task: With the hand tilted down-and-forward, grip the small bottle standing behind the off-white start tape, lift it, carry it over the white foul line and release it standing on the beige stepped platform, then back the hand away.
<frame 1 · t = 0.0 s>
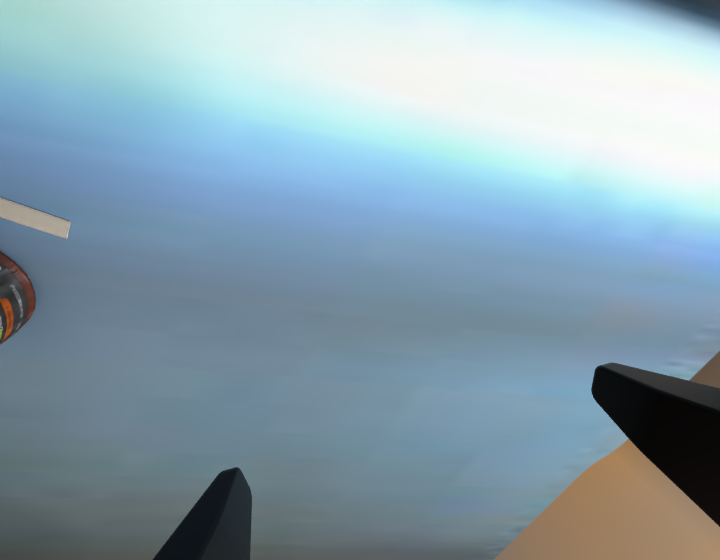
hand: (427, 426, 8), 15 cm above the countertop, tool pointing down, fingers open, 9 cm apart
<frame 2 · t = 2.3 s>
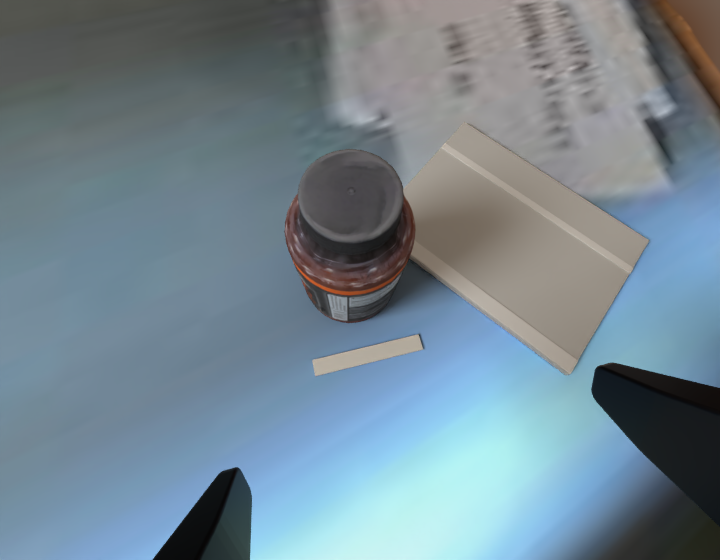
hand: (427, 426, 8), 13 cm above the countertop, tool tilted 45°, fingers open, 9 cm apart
supplement bottle: (350, 283, 24), on the countertop
start tape: (368, 354, 22), on the countertop
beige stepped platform: (508, 235, 25), on the countertop
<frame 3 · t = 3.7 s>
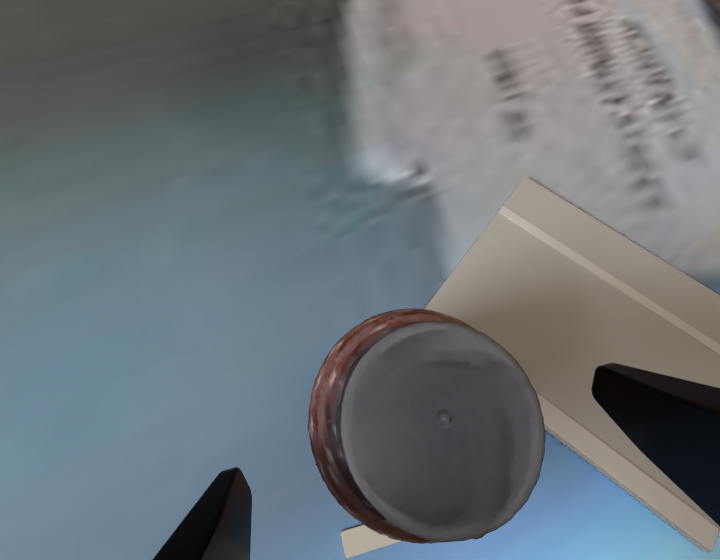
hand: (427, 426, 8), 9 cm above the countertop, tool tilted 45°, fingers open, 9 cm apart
supplement bottle: (387, 406, 17), on the countertop
start tape: (418, 521, 16), on the countertop
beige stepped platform: (596, 333, 19), on the countertop
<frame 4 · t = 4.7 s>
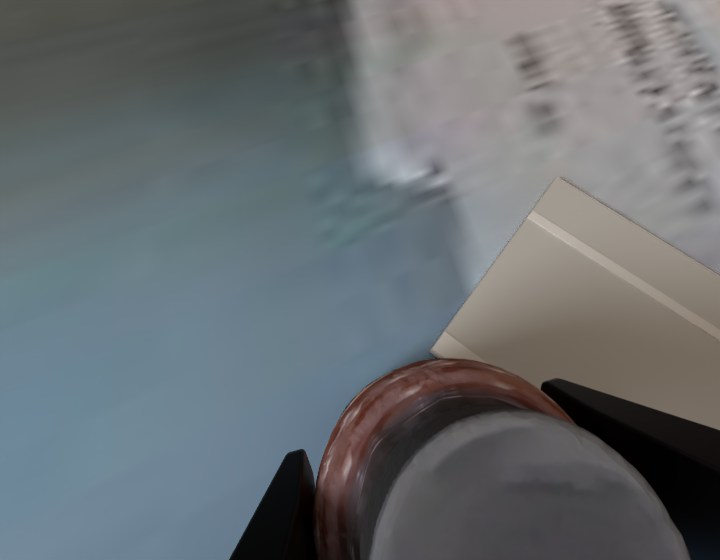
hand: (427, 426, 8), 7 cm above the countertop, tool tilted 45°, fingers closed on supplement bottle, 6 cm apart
supplement bottle: (403, 447, 15), on the countertop, touching gripper
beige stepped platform: (643, 359, 16), on the countertop
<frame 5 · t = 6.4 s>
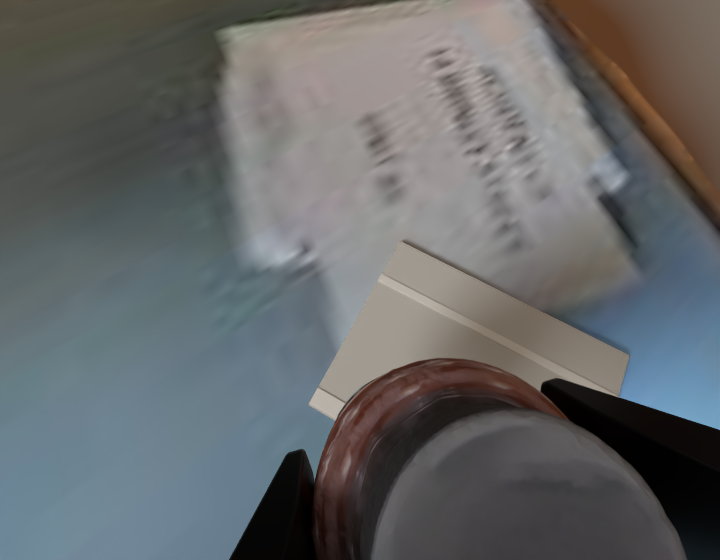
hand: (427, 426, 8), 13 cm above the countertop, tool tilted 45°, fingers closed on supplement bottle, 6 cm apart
supplement bottle: (399, 447, 15), point 5 cm above the countertop, touching gripper
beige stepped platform: (472, 379, 21), on the countertop
when the fingers open (8 cm above the countertop, at t = 8.0 s): supplement bottle stays where it is, resting on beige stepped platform.
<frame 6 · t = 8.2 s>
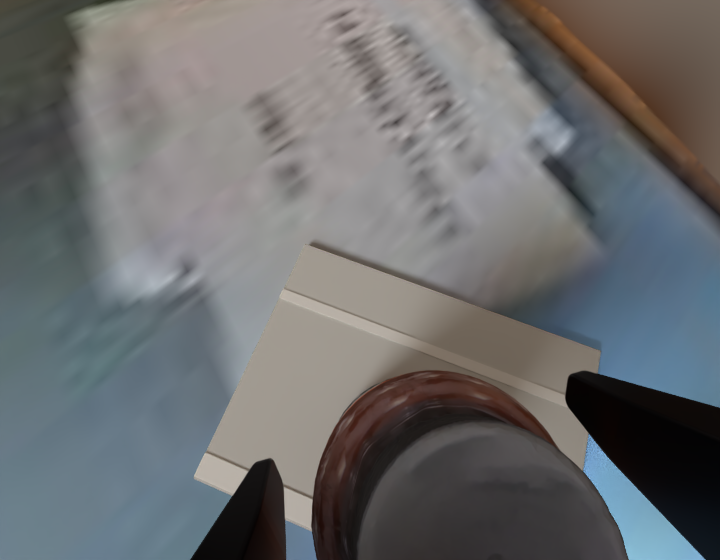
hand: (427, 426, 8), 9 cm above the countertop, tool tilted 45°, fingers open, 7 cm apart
supplement bottle: (398, 449, 16), resting on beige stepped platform
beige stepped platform: (409, 410, 16), on the countertop
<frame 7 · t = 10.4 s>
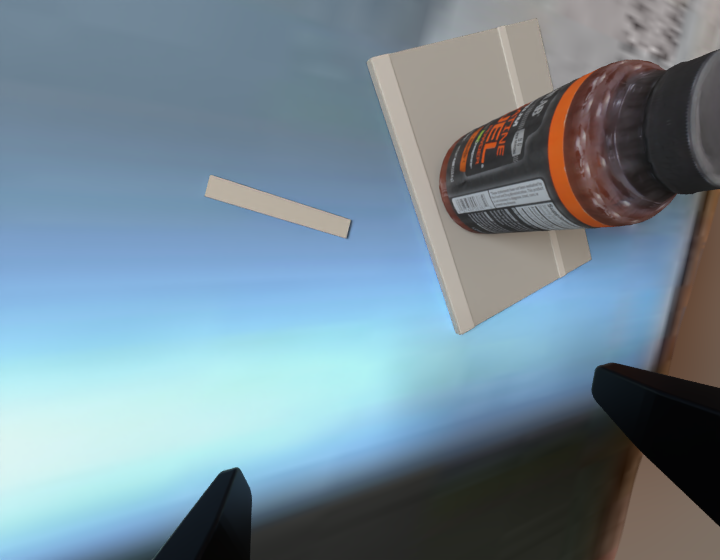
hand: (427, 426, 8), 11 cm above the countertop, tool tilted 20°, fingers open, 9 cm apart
supplement bottle: (474, 185, 21), resting on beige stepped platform
start tape: (282, 209, 17), on the countertop
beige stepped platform: (494, 176, 21), on the countertop
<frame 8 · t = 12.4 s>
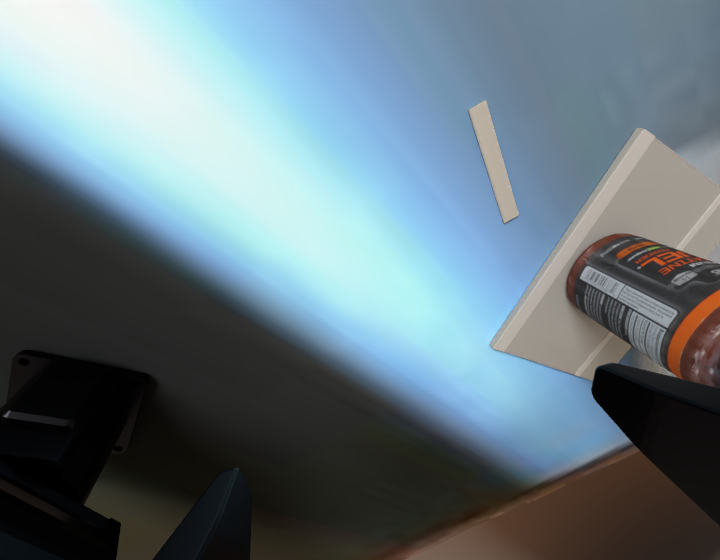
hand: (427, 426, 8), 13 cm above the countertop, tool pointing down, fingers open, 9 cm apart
supplement bottle: (598, 270, 24), resting on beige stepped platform
start tape: (495, 166, 20), on the countertop
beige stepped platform: (612, 277, 25), on the countertop
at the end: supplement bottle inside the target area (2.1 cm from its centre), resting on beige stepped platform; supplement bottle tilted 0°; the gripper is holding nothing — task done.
